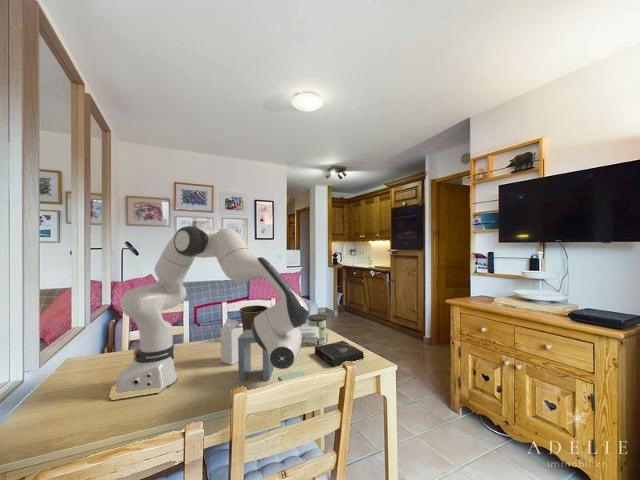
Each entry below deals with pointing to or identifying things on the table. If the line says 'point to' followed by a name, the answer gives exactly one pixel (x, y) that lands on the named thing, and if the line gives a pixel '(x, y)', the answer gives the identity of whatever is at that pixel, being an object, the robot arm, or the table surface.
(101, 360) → the table surface
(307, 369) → the table surface
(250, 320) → the plant pot
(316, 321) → the coffee can
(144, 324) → the robot arm
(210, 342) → the table surface
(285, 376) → the pad
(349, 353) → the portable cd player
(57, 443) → the table surface
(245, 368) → the frame
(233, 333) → the milk carton
